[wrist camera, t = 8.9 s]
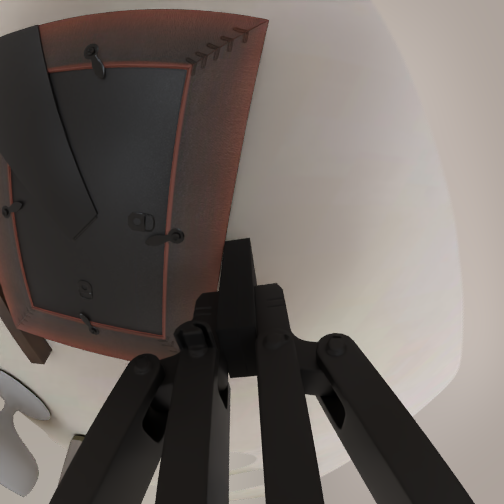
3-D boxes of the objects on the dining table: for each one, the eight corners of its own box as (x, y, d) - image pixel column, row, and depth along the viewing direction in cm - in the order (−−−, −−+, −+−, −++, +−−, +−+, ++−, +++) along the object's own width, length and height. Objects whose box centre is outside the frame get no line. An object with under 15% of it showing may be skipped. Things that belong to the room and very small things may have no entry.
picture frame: (12, 42, 9) (27, 311, 19) (-11, 40, 7) (14, 329, 17) (265, 32, 11) (206, 350, 21) (270, 18, 9) (204, 375, 19)
